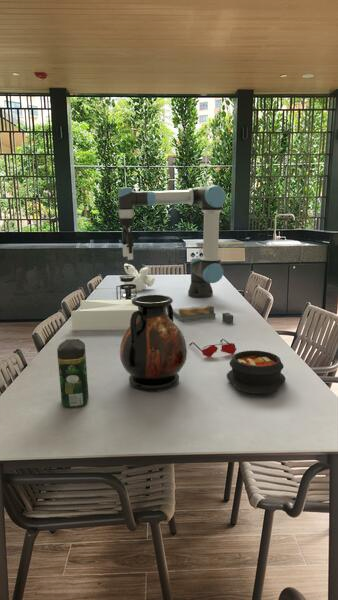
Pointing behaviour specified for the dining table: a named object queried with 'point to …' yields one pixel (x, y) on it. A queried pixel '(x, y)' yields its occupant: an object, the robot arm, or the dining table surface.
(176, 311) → the stool seat
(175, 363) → the amphora vase
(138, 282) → the white lobed sculpture
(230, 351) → the glasses
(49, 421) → the dining table surface
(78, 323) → the building model
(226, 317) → the block
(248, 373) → the casserole
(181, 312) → the hinged leg
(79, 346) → the coffee jar
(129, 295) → the french press
